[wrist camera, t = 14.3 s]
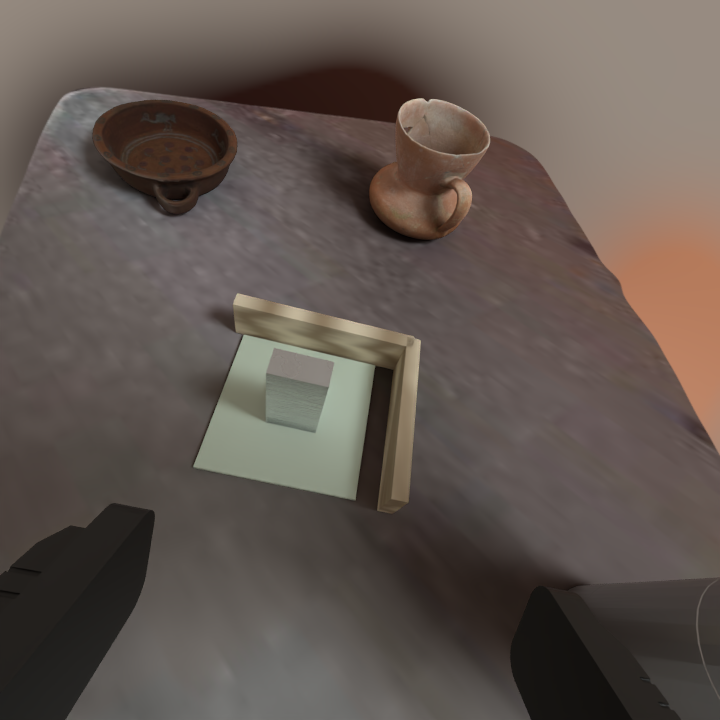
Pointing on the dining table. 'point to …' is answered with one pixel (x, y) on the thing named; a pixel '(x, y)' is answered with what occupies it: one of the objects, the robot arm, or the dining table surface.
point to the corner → (357, 346)
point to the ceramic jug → (429, 169)
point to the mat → (284, 444)
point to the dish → (166, 149)
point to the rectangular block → (296, 389)
